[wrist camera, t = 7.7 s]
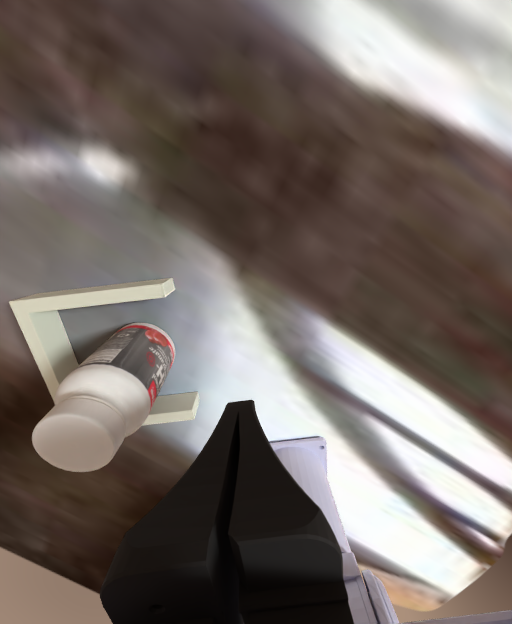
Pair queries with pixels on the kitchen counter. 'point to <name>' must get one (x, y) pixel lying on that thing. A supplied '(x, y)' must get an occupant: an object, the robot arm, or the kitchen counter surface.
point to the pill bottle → (105, 399)
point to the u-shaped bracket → (58, 351)
